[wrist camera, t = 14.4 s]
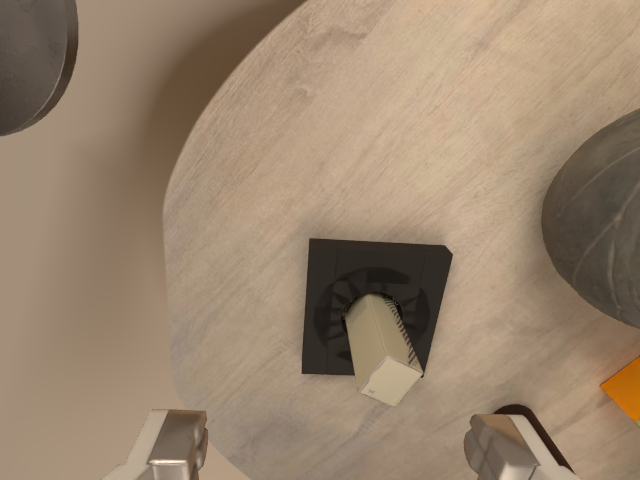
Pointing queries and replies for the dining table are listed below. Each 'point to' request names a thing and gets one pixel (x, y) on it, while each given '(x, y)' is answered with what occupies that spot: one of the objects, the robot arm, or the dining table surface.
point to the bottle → (539, 430)
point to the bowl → (599, 220)
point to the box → (380, 349)
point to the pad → (369, 276)
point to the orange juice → (626, 389)
